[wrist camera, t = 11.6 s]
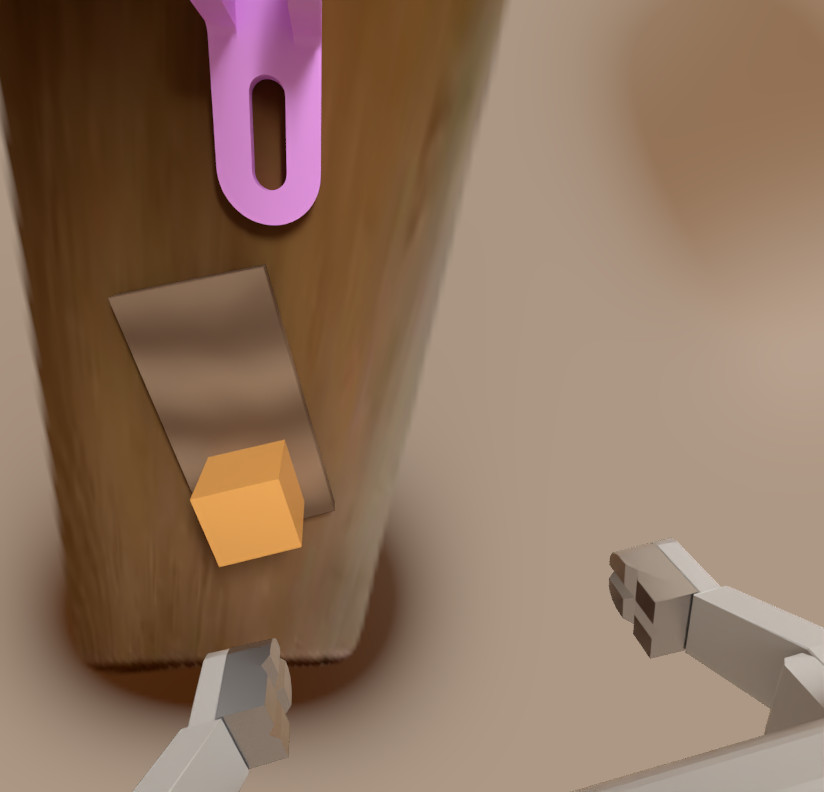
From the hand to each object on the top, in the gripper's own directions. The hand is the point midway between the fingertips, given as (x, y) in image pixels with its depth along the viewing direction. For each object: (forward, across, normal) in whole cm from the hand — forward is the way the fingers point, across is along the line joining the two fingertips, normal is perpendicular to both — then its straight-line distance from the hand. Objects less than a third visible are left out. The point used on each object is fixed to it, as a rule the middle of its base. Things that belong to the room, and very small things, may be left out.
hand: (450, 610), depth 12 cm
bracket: (+24, +3, -13) cm, 28 cm away
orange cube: (+22, +10, +9) cm, 26 cm away
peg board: (+24, +10, +4) cm, 26 cm away
